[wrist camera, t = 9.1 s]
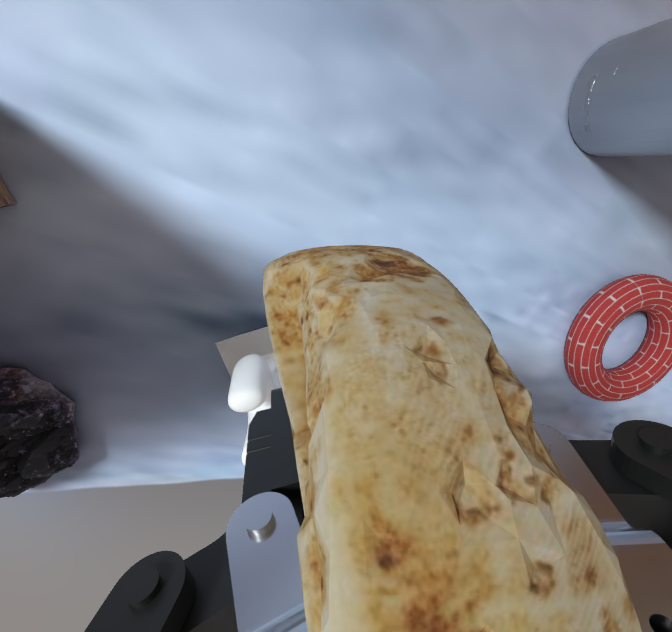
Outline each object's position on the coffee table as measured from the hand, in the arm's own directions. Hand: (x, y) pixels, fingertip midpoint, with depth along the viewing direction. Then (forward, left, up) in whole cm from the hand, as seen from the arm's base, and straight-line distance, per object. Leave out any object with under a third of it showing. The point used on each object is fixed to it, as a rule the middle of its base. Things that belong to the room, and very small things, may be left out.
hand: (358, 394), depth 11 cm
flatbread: (0, 0, -2) cm, 2 cm away
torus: (-34, +18, -24) cm, 45 cm away
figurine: (+5, +9, -23) cm, 26 cm away
